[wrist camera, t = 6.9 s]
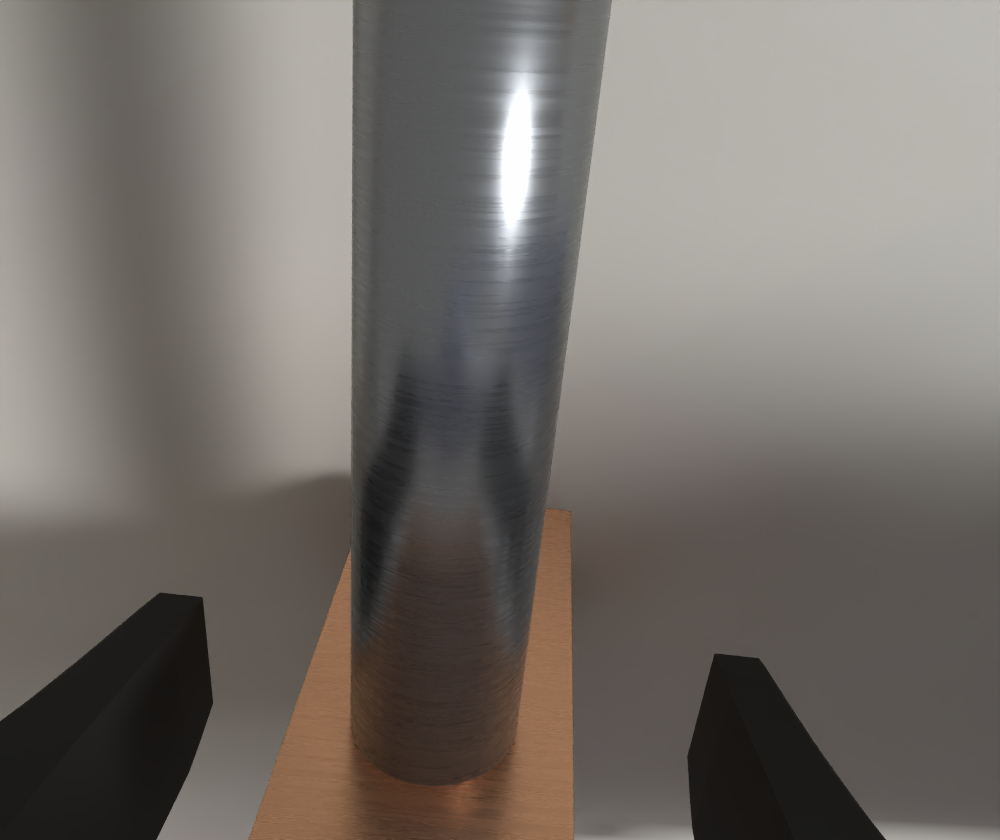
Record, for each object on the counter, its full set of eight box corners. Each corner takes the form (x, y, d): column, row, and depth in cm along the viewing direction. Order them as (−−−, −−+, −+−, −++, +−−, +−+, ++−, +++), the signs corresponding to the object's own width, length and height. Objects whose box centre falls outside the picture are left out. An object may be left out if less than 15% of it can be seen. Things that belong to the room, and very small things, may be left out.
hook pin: (548, 661, 15) (540, 1062, 9) (369, 640, 15) (260, 1031, 9) (697, -353, 8) (913, -831, 3) (385, -381, 9) (97, -896, 3)
